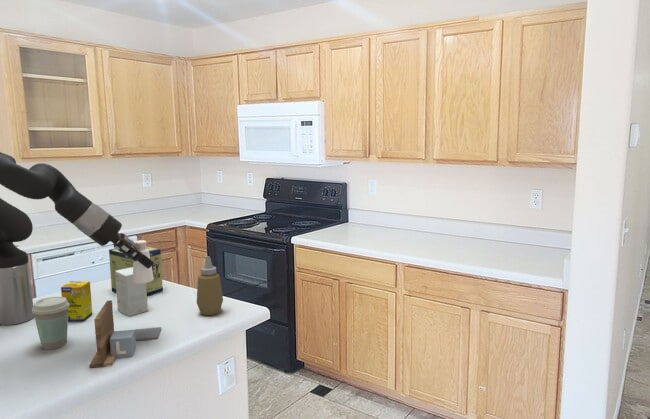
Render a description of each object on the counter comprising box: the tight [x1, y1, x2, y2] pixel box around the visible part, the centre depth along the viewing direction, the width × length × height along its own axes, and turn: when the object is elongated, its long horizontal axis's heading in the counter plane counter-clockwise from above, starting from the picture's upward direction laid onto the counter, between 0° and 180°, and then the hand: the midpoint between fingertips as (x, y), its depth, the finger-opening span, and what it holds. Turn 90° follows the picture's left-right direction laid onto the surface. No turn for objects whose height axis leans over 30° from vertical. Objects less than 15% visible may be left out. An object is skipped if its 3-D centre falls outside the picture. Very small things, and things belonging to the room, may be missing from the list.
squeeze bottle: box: [196, 255, 224, 316], centre depth 145 cm, size 8×8×18 cm
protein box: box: [108, 246, 164, 298], centre depth 165 cm, size 10×16×16 cm
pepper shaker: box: [133, 239, 154, 283], centre depth 127 cm, size 5×5×11 cm
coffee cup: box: [32, 296, 69, 350], centre depth 123 cm, size 8×9×12 cm
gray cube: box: [110, 329, 137, 359], centre depth 119 cm, size 5×5×5 cm
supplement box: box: [60, 280, 93, 323], centre depth 141 cm, size 6×6×11 cm
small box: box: [115, 267, 149, 317], centre depth 147 cm, size 8×6×13 cm
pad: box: [134, 326, 162, 342], centre depth 130 cm, size 7×7×1 cm
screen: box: [89, 299, 117, 369], centre depth 118 cm, size 5×13×12 cm, turn 13°
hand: (149, 263), depth 128 cm, fingers closed on pepper shaker, 4 cm apart
